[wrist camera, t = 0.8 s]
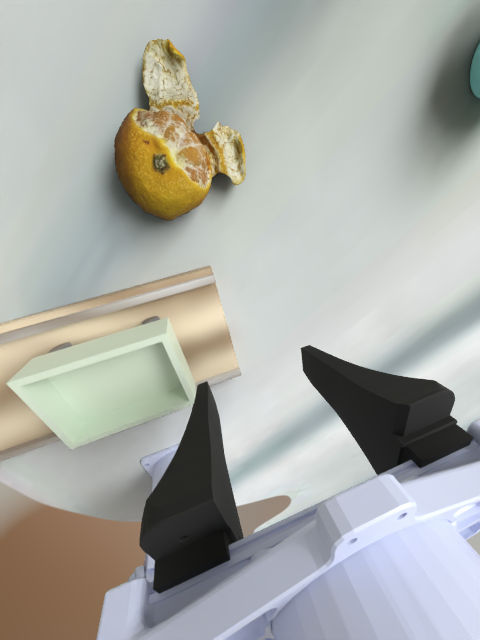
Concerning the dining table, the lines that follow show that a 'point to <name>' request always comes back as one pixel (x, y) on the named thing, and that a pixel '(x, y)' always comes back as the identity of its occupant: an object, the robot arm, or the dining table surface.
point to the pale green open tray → (107, 382)
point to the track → (105, 319)
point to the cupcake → (475, 73)
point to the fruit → (172, 141)
